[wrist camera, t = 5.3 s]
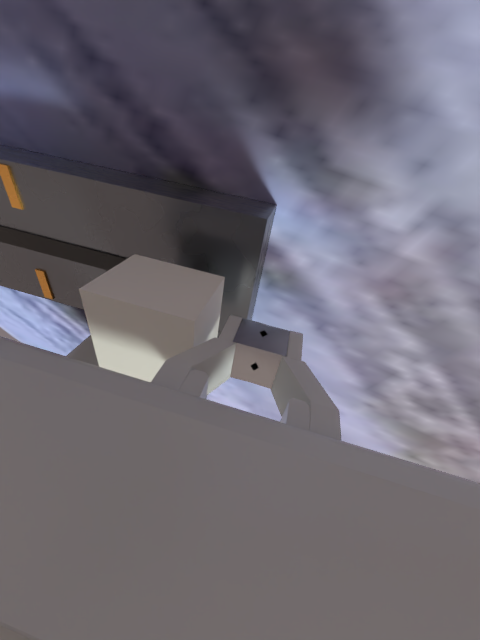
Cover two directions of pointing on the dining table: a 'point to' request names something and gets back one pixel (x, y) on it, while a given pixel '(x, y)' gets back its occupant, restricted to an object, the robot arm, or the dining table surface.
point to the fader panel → (121, 229)
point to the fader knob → (150, 313)
